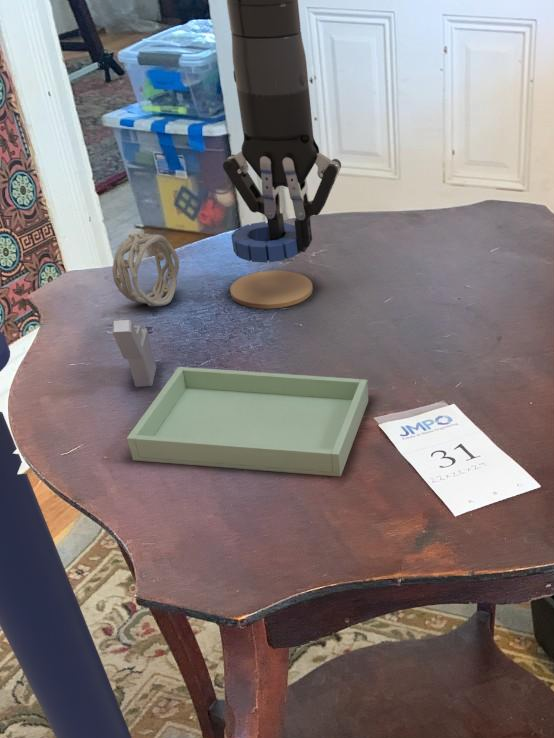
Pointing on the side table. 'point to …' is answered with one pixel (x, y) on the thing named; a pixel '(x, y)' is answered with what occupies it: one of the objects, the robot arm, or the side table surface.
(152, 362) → the gray letter y
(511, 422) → the side table surface
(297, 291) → the coaster
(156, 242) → the bracelet
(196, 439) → the tray
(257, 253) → the ring
